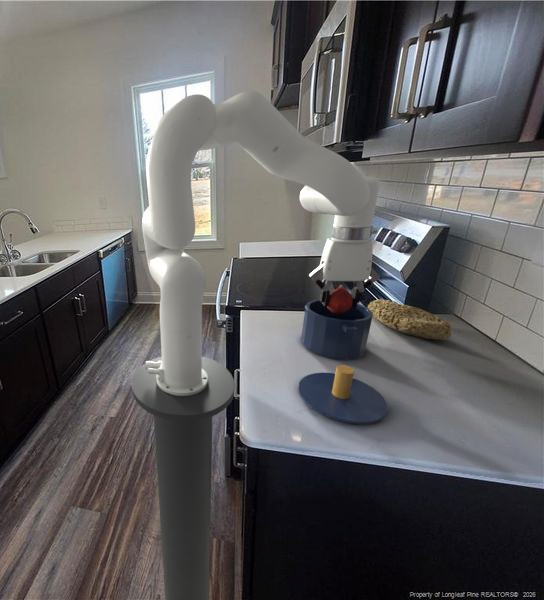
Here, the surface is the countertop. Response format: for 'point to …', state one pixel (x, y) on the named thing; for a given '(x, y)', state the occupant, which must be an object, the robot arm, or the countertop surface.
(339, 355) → the pot
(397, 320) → the sponge
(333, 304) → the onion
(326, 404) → the lid
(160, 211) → the robot arm
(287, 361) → the countertop surface
